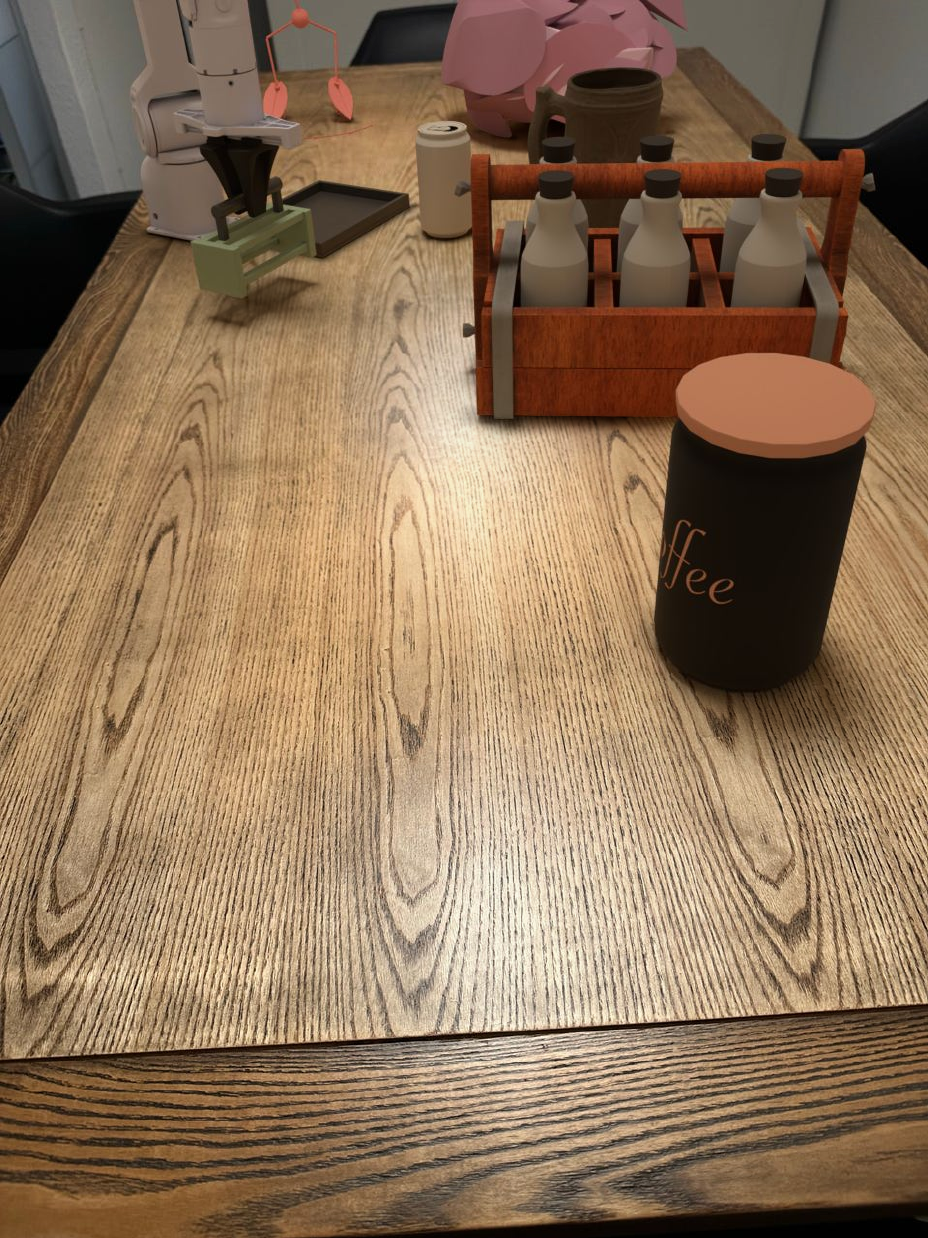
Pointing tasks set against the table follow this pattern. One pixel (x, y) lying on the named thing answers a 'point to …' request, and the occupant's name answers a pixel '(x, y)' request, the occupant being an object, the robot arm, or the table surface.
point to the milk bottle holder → (650, 275)
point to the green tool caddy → (251, 242)
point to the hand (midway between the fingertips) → (250, 212)
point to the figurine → (337, 89)
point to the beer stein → (601, 124)
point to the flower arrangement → (548, 49)
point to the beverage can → (443, 178)
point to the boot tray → (345, 211)
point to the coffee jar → (757, 515)
